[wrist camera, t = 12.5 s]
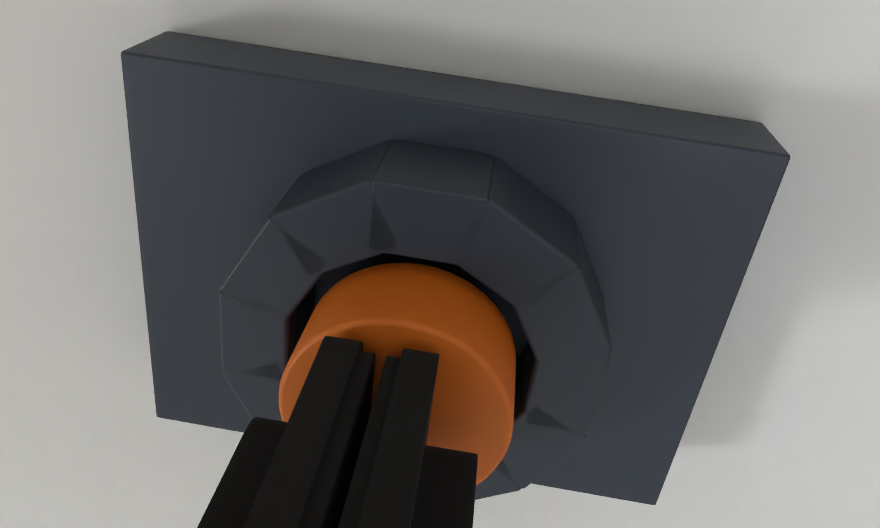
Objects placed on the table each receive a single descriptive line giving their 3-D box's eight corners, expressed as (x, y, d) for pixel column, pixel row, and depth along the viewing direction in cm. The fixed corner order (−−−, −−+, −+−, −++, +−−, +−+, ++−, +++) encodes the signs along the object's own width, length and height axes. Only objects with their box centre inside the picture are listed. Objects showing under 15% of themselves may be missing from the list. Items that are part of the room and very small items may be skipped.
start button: (305, 413, 13) (276, 484, 12) (312, 243, 12) (277, 301, 10) (497, 447, 13) (492, 523, 12) (534, 280, 11) (534, 344, 10)
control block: (188, 370, 17) (113, 478, 14) (165, 30, 13) (55, 79, 10) (645, 450, 17) (669, 579, 14) (762, 121, 13) (833, 202, 10)
